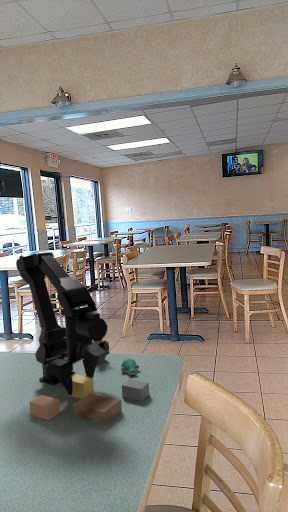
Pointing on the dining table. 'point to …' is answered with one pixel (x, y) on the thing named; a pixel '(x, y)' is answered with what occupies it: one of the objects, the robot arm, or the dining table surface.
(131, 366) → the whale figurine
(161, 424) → the dining table surface
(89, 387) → the mustard brick
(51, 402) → the terracotta brick
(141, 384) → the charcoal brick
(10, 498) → the dining table surface
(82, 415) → the walnut block
